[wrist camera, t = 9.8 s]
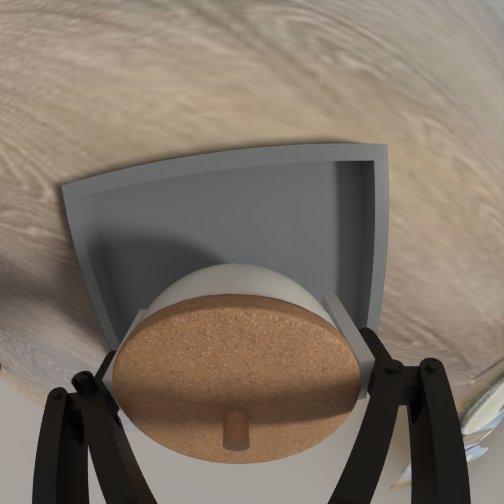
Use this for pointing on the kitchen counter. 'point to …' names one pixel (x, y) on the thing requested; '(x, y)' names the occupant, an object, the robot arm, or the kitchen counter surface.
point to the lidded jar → (236, 367)
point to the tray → (235, 225)
